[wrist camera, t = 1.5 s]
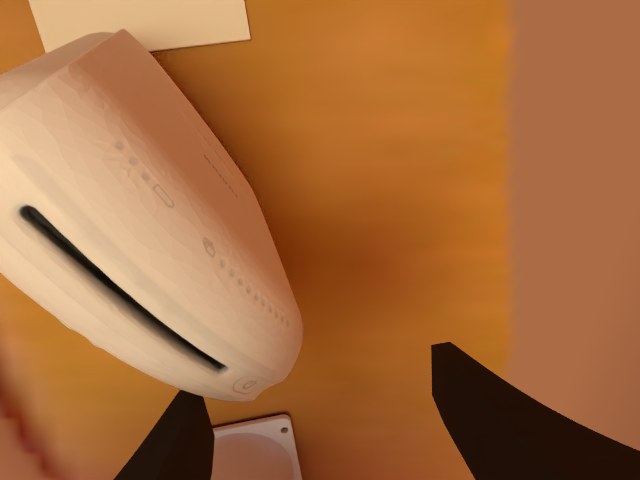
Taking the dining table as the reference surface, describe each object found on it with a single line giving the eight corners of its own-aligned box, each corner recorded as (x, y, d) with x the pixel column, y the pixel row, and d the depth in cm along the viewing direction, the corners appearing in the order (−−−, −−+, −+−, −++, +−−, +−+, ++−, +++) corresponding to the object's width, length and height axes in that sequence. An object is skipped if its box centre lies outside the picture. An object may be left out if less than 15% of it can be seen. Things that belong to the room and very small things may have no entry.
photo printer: (268, 200, 21) (347, 388, 11) (202, 243, 21) (220, 466, 11) (125, 7, 15) (7, 25, 5) (35, 68, 15) (-262, 210, 5)
